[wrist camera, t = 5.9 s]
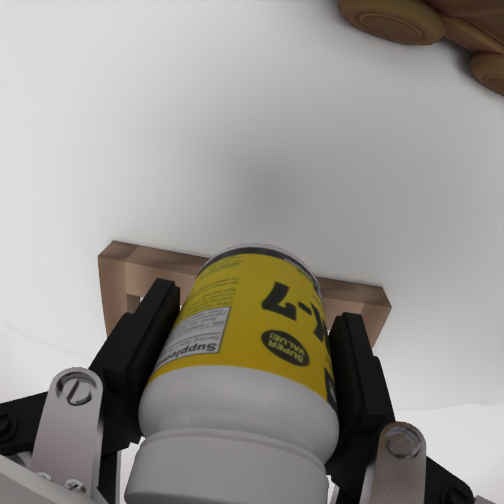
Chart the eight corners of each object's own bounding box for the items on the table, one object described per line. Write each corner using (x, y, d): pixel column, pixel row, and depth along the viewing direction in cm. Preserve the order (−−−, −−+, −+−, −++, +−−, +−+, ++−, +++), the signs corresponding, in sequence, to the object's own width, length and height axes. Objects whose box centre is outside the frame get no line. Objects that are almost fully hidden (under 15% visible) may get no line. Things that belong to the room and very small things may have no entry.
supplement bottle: (342, 314, 12) (378, 532, 4) (242, 360, 13) (211, 549, 6) (275, 212, 10) (253, 473, 3) (169, 278, 12) (63, 479, 4)
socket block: (382, 287, 27) (393, 310, 24) (337, 384, 32) (341, 408, 29) (113, 240, 26) (95, 258, 23) (122, 347, 32) (111, 368, 29)
